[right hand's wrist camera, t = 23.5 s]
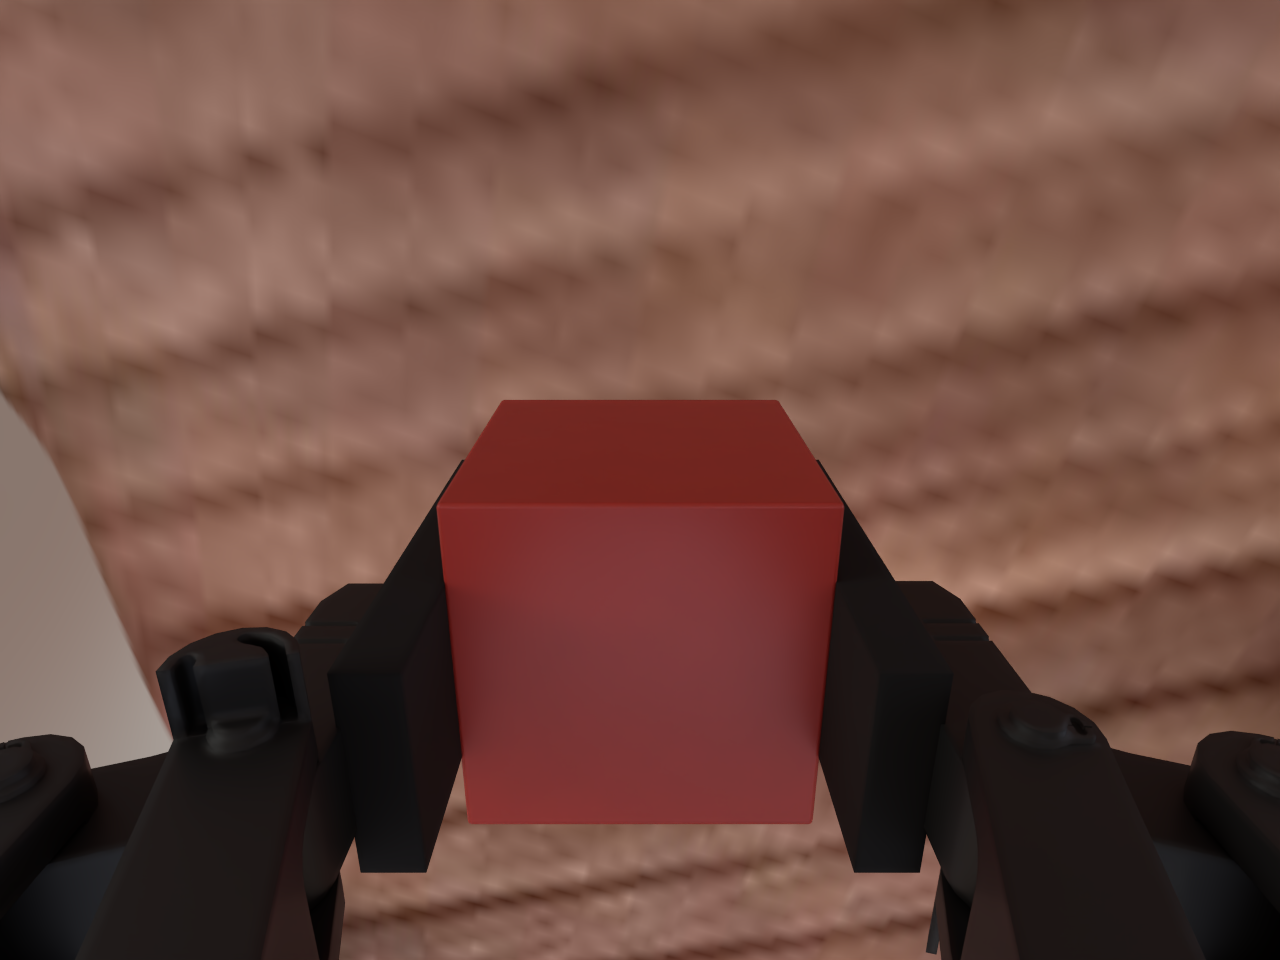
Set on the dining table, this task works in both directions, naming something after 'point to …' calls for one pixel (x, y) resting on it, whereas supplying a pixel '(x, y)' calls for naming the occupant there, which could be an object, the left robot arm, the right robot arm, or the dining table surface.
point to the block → (640, 612)
